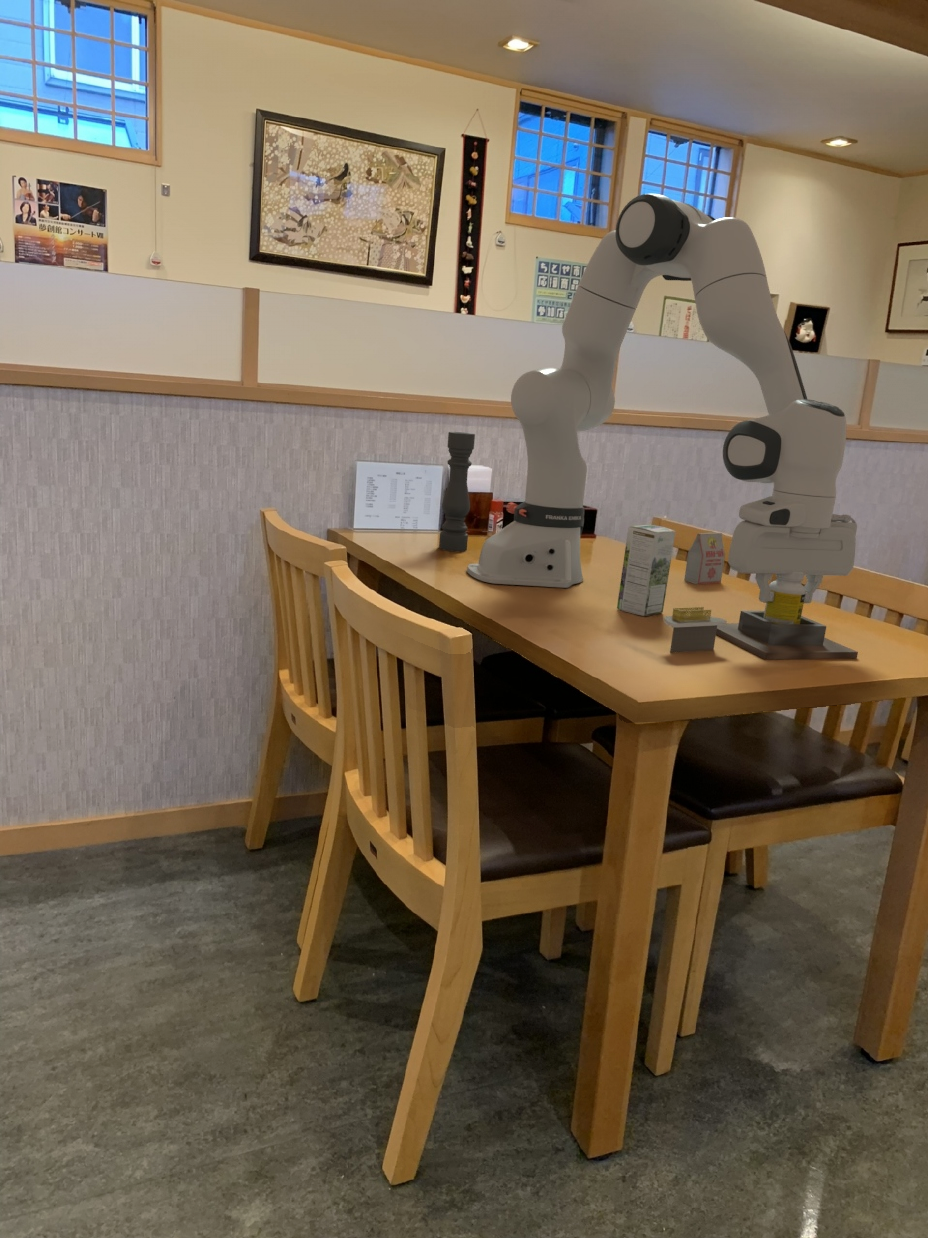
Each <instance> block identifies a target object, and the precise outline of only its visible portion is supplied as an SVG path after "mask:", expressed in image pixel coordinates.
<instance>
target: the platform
mask: <svg viewBox="0 0 928 1238" xmlns="http://www.w3.org/2000/svg"><path fill="white" fill-rule="evenodd" d="M704 608H705V607H704V606H695V607H694V606H693V607H692V606H690V607H673V608H672V615H671V616H669V615H668V616H663V622H664V623H665V624H666V626H668V627H671V628H672V635H671V636H672V637H671V641H670V642H671V643H670V648H669V649H670V651H669V652H670V653H671V654H673V653H674V654H675V652H676V653H685V652H686V653H687V652H701V651H704V652H705V651H714V649H715V642H716V636H717V635H716V630H717V625H726V623H728V621H727V620H726V619H724V618H720V617H715V616H712V609H710V608H709V609H704Z"/></svg>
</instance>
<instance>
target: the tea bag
mask: <svg viewBox="0 0 928 1238" xmlns="http://www.w3.org/2000/svg"><path fill="white" fill-rule="evenodd" d="M725 558H726V552H725V547H724V541H723V533H722V532H705V533H704V532H703V533H701V532H700V533H697V534H696V536H695V538H694V540H693V543H692V545H691V546H690V548H689V550H688V553H687V559H686V564H685V572H684V573H685V574H684V580H683V581H685V582H689V583H692V584H695V585H706V584H709V585H710V584H721V583H722V577H723V571H724V563H725Z"/></svg>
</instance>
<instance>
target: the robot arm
mask: <svg viewBox="0 0 928 1238" xmlns="http://www.w3.org/2000/svg"><path fill="white" fill-rule="evenodd" d="M616 221H617V222H616V224H615V230H614V229H613V230H610V231H609V232H608V233H606V234H605V235H604V236H603V238H602V239H601V240H600V241H599V243H598V245H597V247H596V248H595V251H594V252H593V254H592V255H591V257H590V259H589V261H588V263H587V265H586V266H585V269H584V271H583V273H582V276H581V278H580V280H579V283H578V285H577V287H576V289H575V292H574V295H573V297H572V300H571V302H570V305H569V308H568V310H567V313H566V316H565V318H564V320H563V322H562V323H563V324H562V327H561V333H562V336H563V339H564V354H563V358H562V364H561V366H560V368H556V367H551V366H550V367H546V366H545V367H539V368H536V369H533V370H529V371H527V372H525V373H523V374H521V375H520V376H519V378H517V380H516V381H515V383H514V385H513V387H512V391H511V395H510V404H511V405H510V406H511V408H512V411H513V415H515V417H516V418H517V419H518V420H517V421H519V423H520V425H521V429H522V431H523V435H524V440H525V447H526V453H527V454H526V455H527V457H526V458H527V471H526V472H527V474H526V484H525V496H524V498H525V499H524V501H523V502H521V503H520V504H517V503H514V502H512V501H510V502H508V503H507V504H506V506H505V508H506V509H505V510H506V511H507V512H508V513H510V514H511V515H513V521H512V522H510V523H509V524H507V525H506V526H504V527H503V528H501V529H499V531H497V532H496V533H494V534H492V535H491V536H489V538H487V539H486V540H485V541H484V542H483V545H482V547H481V551H480V554H479V555H480V556H479V559H478V563H469V564H468V565H467V567H466V572H467V573H468V575H470V576H471V577H473V578H474V579H476V580H478V581H482V582H485V583H488V584H489V583H490V584H496V585H497V584H499V585H517V586H533V587H548V588H564V589H565V588H570V587H571V586H572V585H575V584H579V583H582V582H583V581H584V578H583V577H584V576H583V572H582V564H581V563H582V561H581V536H582V534H583V531H584V529H583V528H584V524H585V507H584V498H585V490H586V480H587V472H588V468H587V463H586V461H585V460H584V458H583V456H582V453H581V449H580V444H579V438H578V436H579V435H578V432H585V431H588V430H591V429H594V428H597V427H599V426H601V425H603V424H604V423H606V422H607V421H608V420H609V418H610V417H611V416H612V414H613V412H614V408H615V405H616V403H615V402H616V398H615V393H614V392H615V391H614V390H613V382H614V376H615V369H616V365H617V360H618V355H619V352H620V350H621V347H622V344H623V341H624V339H625V337H626V334H627V332H628V330H629V326H630V324H631V322H632V319H633V317H634V315H635V313H636V311H637V308H638V305H639V303H640V301H641V298H642V295H643V294H644V291H645V289H646V287H647V285H648V284H649V283H650V282H651V281H652V280H653V279H655V278H657V277H659V276H662V278H663V279H664V280H665V281H681V282H682V281H683V282H688V281H690V282H691V283H692V290H693V291H692V292H693V296H694V302H695V308H696V312H697V318H698V321H699V323H700V327H701V329H702V331H703V333H704V335H705V337H706V339H707V340H708V341H709V342H710V343H711V344H713V345H714V346H715V347H717V348H718V349H719V350H722V351H724V352H725V353H727V354H729V355H731V357H734V358H736V360H738V361H740V362H741V363H743V364H744V365H745V367H747V368H749V370H750V371H751V372H752V373H753V374H754V376H755V378H756V379H757V381H758V383H759V387H760V390H761V392H762V393H761V394H762V396H763V399H764V403H765V406H766V410H767V414H768V415H764V416H760V417H756V418H752V419H749V420H748V419H747V420H742V421H740V422H738V423H737V424H735V425H734V426H733V427H732V428H731V430H729V432H728V433H727V435H726V438H725V440H724V442H723V446H722V447H723V448H722V459H723V464H724V466H725V469H726V471H727V472H728V474H730V476H732V477H733V478H734V479H737V480H740V481H743V482H745V483H746V482H747V483H760V484H773V489H772V495H770V496H768V497H764V498H761V499H758V500H755V501H752V502H748V503H746V504H745V503H744V504H742V505H741V506H740V508H739V511H738V516H739V519H741V520H742V521H740V522H739V523H738V524H737V525H736V526H735V527H734V530H733V534H732V538H731V542H730V544H729V545H730V546H729V550H728V551H729V552H728V558H727V562H728V566H729V567H730V569H731V570H733V571H735V572H738V573H740V574H755V581H756V583H757V587H758V588H759V593H758V594H759V595H758V600H759V602H761V603H764V604H766V603H773V601H774V596H775V592H773V591H771V590H770V587H769V585H770V583H769V582H772V579H773V575H776V574H792V572H803V573H804V576H805V579H806V580H807V582H806V583H805V584H804V585H803V586H804V587H805V589H806V594H805V599H804V604H811V603H812V601H813V596H814V593H815V592H816V590H817V589H818V588H819V586H820V585H821V584H822V583H823V577H824V576H836V577H837V576H839V577H846V576H849V574H850V573H852V571H853V569H854V565H855V557H856V544H857V543H856V542H857V540H856V535H857V530H858V523H856V520H855V519H854V518H852V516H851V515H849V514H835V513H834V508H835V502H836V498H837V485H836V482H837V477H838V475H839V472H840V471H841V468H842V466H843V462H844V461H843V459H844V455H845V450H846V449H845V446H846V441H847V417H846V414H845V412H844V411H843V410H842V409H841V408H840V407H838V406H836V405H833V404H830V403H827V402H822V401H816V400H814V399H808V396H807V393H806V389H805V386H804V383H803V379H802V376H801V373H800V370H799V367H798V362H797V359H796V356H795V354H794V353H795V352H794V350H793V347H792V344H791V342H790V340H789V338H788V335H787V334H786V332H785V331H786V330H784V328H783V326H782V324H781V321H780V320H779V316H778V313H777V310H776V308H775V305H774V302H773V299H772V295H771V291H770V287H769V282H768V277H767V272H766V269H765V264H764V261H763V257H762V255H761V252H760V248H759V246H758V245H759V244H758V242H757V240H756V238H755V236H754V234H753V231H752V229H751V227H750V225H749V224H748V223H747V222H746V221H744V220H742V219H740V218H736V217H729V216H728V217H726V216H725V217H722V218H717V219H716V218H714V217H713V216H711V215H710V214H706V213H705V212H703V211H702V210H700V209H699V208H697V207H695V206H694V205H692V204H689V203H686V202H681V201H677V200H675V199H671V198H669V196H666V195H663V194H659V193H643V194H639V195H638V196H636V197H633V198H632V199H630V201H629V202H627V204H626V205H625V206H623V209H622V210H621V212H620V214H619V216H618V218H617V220H616Z"/></svg>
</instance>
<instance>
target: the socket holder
mask: <svg viewBox="0 0 928 1238" xmlns="http://www.w3.org/2000/svg"><path fill="white" fill-rule="evenodd" d="M764 611H765V610H740V613H739V620H738V623H737V622H736V623H735V622H727V623H726V625H717V630H716V636H718V637H720V638H722V639H724V640H726V641H728V642H729V643H732V644H734V645H736V647H740V648H742V649H743V650H746V652H747V651H748V652H750V653H751V654H753V655H755V656H757V657H759V658H760V659H763V660H823V659H824V660H826V659H827V660H829V659H830V660H832V659H833V660H834V659H835V660H836V659H837V660H838V659H842V660H843V659H844V660H845V659H858V655H859V654H858V653H859V652H858V651H857V650H854V649H852V648H849V647H848V646H845V645H843V644H840V643H838V642H836V641H834V640H830V639H829V638H826V631H827V625H825V624H822V623H820V622H817V621H814V620H812V619H809V618H807V617H805V616H803V615H801V620H800V624H775V623H773V622H771V621H768V620H766V619H764V618H763V617H764Z"/></svg>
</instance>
